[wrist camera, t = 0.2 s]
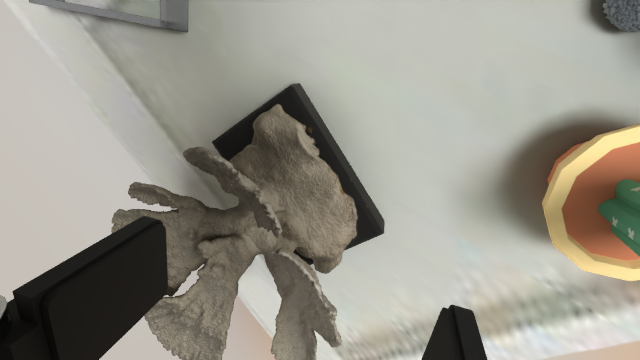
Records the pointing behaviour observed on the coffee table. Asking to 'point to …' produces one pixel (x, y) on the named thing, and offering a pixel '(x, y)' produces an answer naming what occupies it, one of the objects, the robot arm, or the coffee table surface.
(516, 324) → the coffee table surface
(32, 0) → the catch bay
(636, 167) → the potted cactus
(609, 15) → the koala plush
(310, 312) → the coral
